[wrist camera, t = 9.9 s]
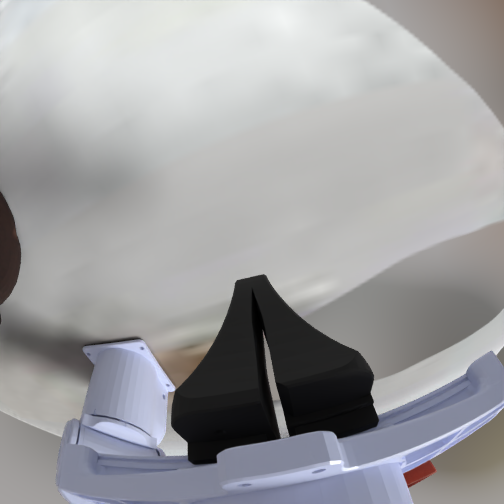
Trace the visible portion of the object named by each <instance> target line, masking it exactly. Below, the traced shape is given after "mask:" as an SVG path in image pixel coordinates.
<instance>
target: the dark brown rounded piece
mask: <svg viewBox="0 0 504 504" xmlns="http://www.w3.org/2000/svg"><path fill="white" fill-rule="evenodd" d="M20 264H21V248H20V243H19V240H18V237H17V235H16V229H15V222H14V218H13V215H12V213H11V211H10V208H9V206H8V204H7V202H6V200H5V199H4V197H3V195H2V194H1V192H0V305H1V304H2V303H3V302H4V301H5V300H6V299H7V298H8V297H9V295H10V294H11V292H12V290H13V288H14V286H15V285H16V283H17V279H18V275H19V270H20ZM0 324H1V315H0Z"/></svg>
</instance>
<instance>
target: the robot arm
mask: <svg viewBox="0 0 504 504" xmlns="http://www.w3.org/2000/svg"><path fill="white" fill-rule="evenodd" d="M263 332H264V335H265V338H266V341H267V344H268V347H269V350H270V355H271V360H272V365H273V371H274V376H275V382H276V386H277V389H278V393H279V397H280V400H281V404H282V408H283V411H284V416H285V421H286V425H287V429H288V432H289V436H290V437H288V438H283V439H281V437H280V433H279V428H278V424H277V419H276V414H275V410H274V405H273V400H272V396H271V391H270V386H269V382H268V376H267V369H266V359H265V348H264V338H263ZM83 352H84V353H85V354H86V356H87V357H88V358H89V359H90V361H91V362H92V363H93V364H94V365H95V366H94V369H93V373H92V376H91V380H90V383H89V387H88V391H87V395H86V398H85V402H84V406H83V411H82V415H81V418H80V420H77V419H74V418H73V419H72V420H70V421H67V423H66V426H65V429H64V432H63V436H62V440H61V444H60V449H59V454H58V460H57V474H56V485H57V486H58V491H59V493H60V494H61V495H62V496H63V497H64V498H65V500H66V501H67V502H68V503H69V504H413V500H412V498H411V495H410V492H409V489H408V486H407V484H406V481H405V478H404V475H403V473H405V472H407V471H409V470H411V469H413V468H415V467H417V466H419V465H421V464H423V463H425V462H426V461H428V460H430V459H432V458H434V457H435V456H437V455H439V454H440V453H442V452H443V451H445V450H447V449H448V448H450V447H452V446H453V445H455V444H456V443H458V442H459V441H461V440H463V439H464V438H466V437H467V436H468V435H470V434H472V433H473V432H474V431H476V430H477V429H479V428H480V427H482V426H483V425H484V424H486V423H487V422H489V421H490V420H491V419H493V418H494V417H495V416H496V415H497V414H498V413H499V412H500V411H501V409H503V407H504V367H503V365H502V364H501V363H500V361H499V360H498V358H497V357H496V355H495V354H494V353H493V351H490V352H488V353H486V354H485V355H483V356H482V357H480V358H478V359H477V360H475V361H474V362H473V363H472V364H471V365H470V366H469V368H468V369H467V372H466V374H464V375H463V376H461V377H459V378H457V379H456V380H454V381H452V382H450V383H448V384H446V385H444V386H443V387H441V388H439V389H437V390H435V391H433V392H431V393H429V394H427V395H425V396H423V397H420V398H418V399H416V400H414V401H412V402H409V403H407V404H405V405H403V406H400V407H398V408H396V409H393V410H391V411H388V412H386V413H383V414H381V415H378V416H377V413H376V411H375V408H374V406H373V403H374V401H373V398H372V396H371V389H372V385H373V381H374V375H373V372H372V370H371V368H370V366H369V365H368V363H367V362H366V361H365V359H364V358H363V357H362V356H361V354H360V353H359V352H358V351H356V350H354V349H352V348H349V347H347V346H345V345H342V344H340V343H338V342H337V341H335V340H333V339H331V338H329V337H328V336H326V335H324V334H323V333H321V332H320V331H318V330H317V329H315V328H314V327H312V326H311V325H310V324H308V323H307V322H306V321H305V320H303V319H302V318H301V317H300V316H299V315H298V314H296V313H295V312H294V311H293V310H292V309H291V308H290V307H289V306H288V305H287V304H286V303H285V302H284V300H283V299H282V298H281V297H280V296H279V295H278V293H277V292H276V291H275V289H274V288H273V287H272V285H271V284H270V282H269V280H268V278H267V276H266V275H264V274H263V275H258V276H254V277H250V278H245V279H241V280H237V281H236V283H235V288H234V293H233V297H232V300H231V304H230V307H229V310H228V313H227V315H226V318H225V320H224V322H223V325H222V327H221V329H220V331H219V333H218V335H217V337H216V339H215V341H214V343H213V345H212V346H211V348H210V349H209V351H208V353H207V354H206V356H205V357H204V359H203V360H202V361H201V363H200V364H199V365H198V366H197V368H196V369H195V370H194V371H193V373H192V374H191V375H190V376H189V377H188V378H187V379H186V380H185V381H184V382H183V384H182V385H181V386H180V387H179V388H178V389H176V390H175V386H174V385H173V384H172V382H171V381H170V379H169V378H168V377H167V375H166V374H165V372H164V371H163V369H162V368H161V366H160V365H159V364H158V362H157V361H156V359H155V358H154V356H153V355H152V353H151V351H150V350H149V348H148V347H147V345H146V344H145V342H144V341H143V340H140V339H138V340H131V341H123V342H116V343H108V344H100V345H91V346H84V347H83ZM173 391H175V394H174V399H173V403H172V413H171V426H172V428H173V429H174V430H175V431H176V432H177V433H178V434H179V435H180V436H181V437H182V438H183V439H184V440H185V441H187V442H188V456H166V455H165V453H164V451H163V450H162V449H160V448H157V445H158V444H159V443H160V442H161V441H162V439H163V437H164V435H165V431H166V416H167V400H168V392H173Z"/></svg>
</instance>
